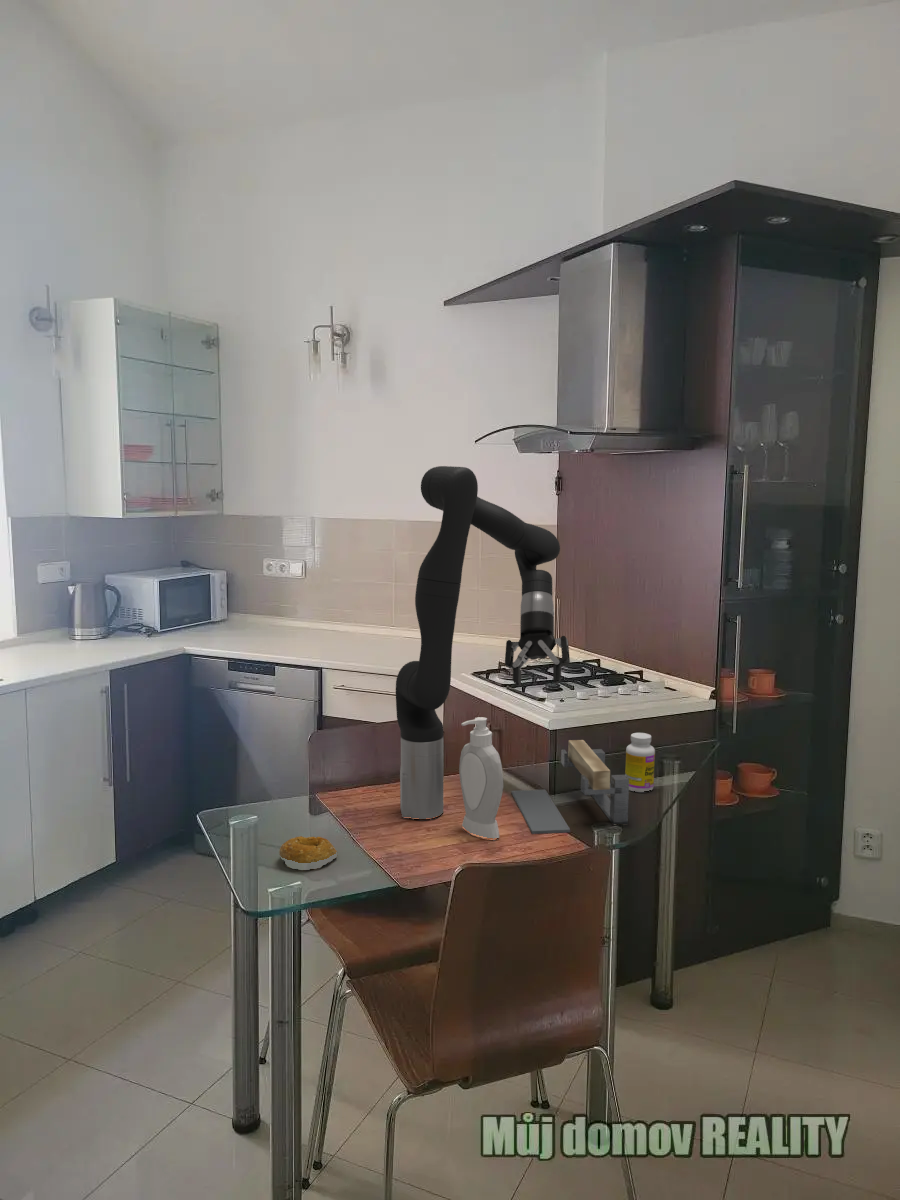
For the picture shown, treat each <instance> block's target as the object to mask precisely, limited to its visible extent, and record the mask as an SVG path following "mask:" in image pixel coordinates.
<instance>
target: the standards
mask: <svg viewBox="0 0 900 1200" xmlns="http://www.w3.org/2000/svg"><path fill="white" fill-rule="evenodd" d="M591 749H592V748H591ZM592 750H593V752H594V753H595V754H596V755H597V756H598V757H599V758H600V760H601V761H602V762H603V763H604V764H605V765H606V752H605V751H604V750H603V749H602V748H597V749H592ZM560 753H561V754H560V755H561V757H560V764H561V765H562V767H563V768H573V767H574V768H576V767H575V765H574V764H573V763H572V761H571V760H570V759H569V758H568V751H566V749H561V752H560ZM580 791H581V792H582V794H583V795H584V796H588V795H589V796H591V797H592V798H593V800H594V801H595V803H596V804H597V805H598V806H599V808H600V809H601V811H602V812H603V814H604V815H605V816H606V817H607V818H608V820H609V821H610V823H611V824H612V823H613V824H628V823H629V793H630V790H629V779H628V778H627V777H626V775H625V774H610V789H603V790H593V789H592V787H591V786H590V785H589V784H588V779H587V777H586V776H585V775H582V774H581V775H580ZM608 795H609V796H610V797H609V796H608ZM613 824H612V825H613ZM628 825H629V824H628Z"/></svg>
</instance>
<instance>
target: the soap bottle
mask: <svg viewBox="0 0 900 1200" xmlns="http://www.w3.org/2000/svg"><path fill="white" fill-rule="evenodd" d="M487 721H488V718H487V717H484V716H483V717H482V716H480V717H479V716H478V717H475V718H474V719H470V720H466V721H464V722H461V726H462V727H464V726H467V725H475V726H474V727H473V730H471V731H470V732H469V737H470V739H469V742H468V743H466V744H465V745H463V748H462V749H461V753H460V757H459V766H458V767H459V769H458V770H459V771H458V773H459V783H460V787H461V788H460V789H461V793H462V799H463V800H462V801H463V805H464V810H465V814H464V816H463V820H462V824H461V827H462V826H463V827H464V828H465V829H466V830H467V831H469V832H470V833H473V834H476V835H479V836H483V837H487V838H493V839H494V838H499V839H500V830H499V826H498V821H497V820H496V817H497V814H498V811H499V808H500V805H501V800H502V796H503V791H504V774H503V773H504V771H503V765H502V760H501V757H500V754H499V752H498V750H496V748H495V747H494V745H493V743H492V742H493V732H492V731H491V730H490V729H489V727H487Z"/></svg>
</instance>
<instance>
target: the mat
mask: <svg viewBox="0 0 900 1200" xmlns="http://www.w3.org/2000/svg"><path fill="white" fill-rule="evenodd" d="M510 793H511V796H512V798H513V799H514V801H515V803H516V805H517V807H518V809H519V811H520V813H521V815H522V816H523V819H524V821H525V823H526V825H527V826H528V829H529V830H530V832H531V835H536V834H537V835H540V834H561V833H571V828H570V826H568V824H567V821H565V818H564V817H563V815H562V814H561V812H560V810H559V809H558V807H557V806H556V804H555V803H554V801H553V800H552V797H551V796H550V794H549V793H548V791H547V790H546V789H545V788H544V789H543V788H542V789H521V790H511V791H510Z"/></svg>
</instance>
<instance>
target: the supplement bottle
mask: <svg viewBox="0 0 900 1200" xmlns="http://www.w3.org/2000/svg"><path fill="white" fill-rule="evenodd" d="M630 742H631V743H630V744H628V745H627V746H626V748H625V749H626V750H625V771H624V775H626V777H627V778H628V779H629V791H632V792H634V791H635V792H636V793H645V792H644V791H649V790H651V791H652V790H654V785H655V783H654V782H655V761H656V749H655V747H654V746H653V745H651V742H652V735H651V734H649V733H647V732H646V733H645V732H634V733H631V734H630ZM649 792H650V791H649Z"/></svg>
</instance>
